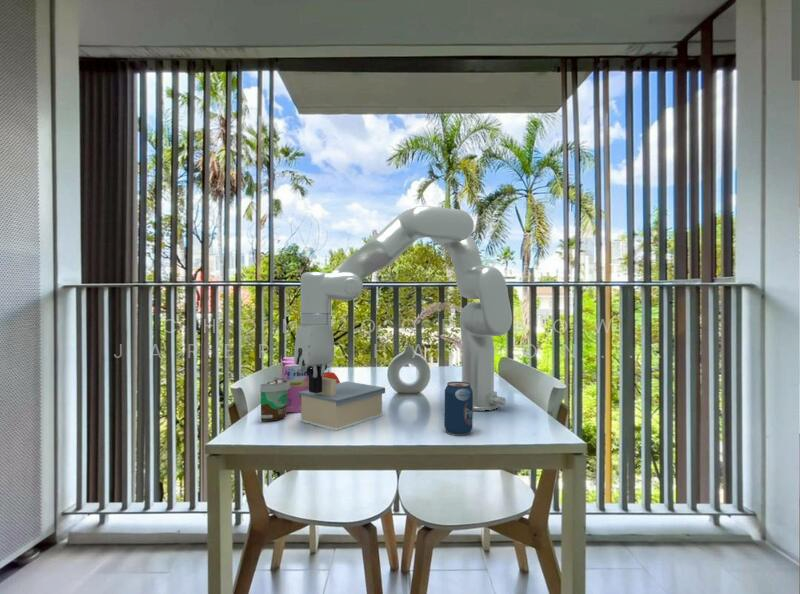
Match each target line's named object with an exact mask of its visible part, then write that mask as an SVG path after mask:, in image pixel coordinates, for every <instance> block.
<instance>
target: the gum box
mask: <svg viewBox="0 0 800 594" xmlns="http://www.w3.org/2000/svg"><path fill="white" fill-rule="evenodd" d="M305 366H306V365H305ZM280 378H282V381H285V379H288V380H289V382H290V386H291V388H290V389H288V396H287V406H286V412H295V413H301V398H298V392H301V391H306V390H309V377H308V376H307V374H306V373H305V372H303V371H298V365H297V364H295V362H294V356H285V355H284V354H283V355H280Z"/></svg>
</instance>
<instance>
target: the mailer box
mask: <svg viewBox="0 0 800 594" xmlns="http://www.w3.org/2000/svg"><path fill="white" fill-rule="evenodd" d="M300 414H301V420H300V422H301V421H303V422H302V423H305V422H306V424H308V423H310V424H309V425H312V424H313V426H316V425H317V426H318V427H321V428H325V429H328V430H332V431H339V430H342V429H346V428H348V427H351V426H354V425H357V424H360V423H363V422H366V421H369V420H373V419H375V418H379V417H382V415H383V394H380V395H377V396H373V397H369V398H366V399H362V400H359V401H355V402H351V403H348V404H344V405H341V406H336V402H331V401H326V400H321V399H316V398H312V397H307V396H302V395H301V412H300Z"/></svg>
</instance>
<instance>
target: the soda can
mask: <svg viewBox="0 0 800 594" xmlns="http://www.w3.org/2000/svg"><path fill="white" fill-rule="evenodd" d="M473 412H474V410H473V391H472V389H471V387H470V383H467V382H462V381H449V382H447V383H446V386H445V388H444V414H443V415H444V418H443V419H444V426H443V427H444V429H445V430H446V433H448V434H449V433H450V434H449V435H452V434H454V436H466V434H467V435H469V434H470V433H471V432H472V430H473V427H474V426H473V423H474V421H473V419H474V418H473V417H474V416H473V415H474V413H473Z"/></svg>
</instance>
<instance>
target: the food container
mask: <svg viewBox="0 0 800 594" xmlns="http://www.w3.org/2000/svg"><path fill="white" fill-rule="evenodd" d="M290 388H291V386H290V382H289V380H288V379H285V381H282V378H281V377H280V376H279V377H275V376H274V379H273V380H272V381H268V382H267V383H260V387H259V392H260V421H261V422H274V421H273V420H275V421H279V420H278V419H280V420H282V418H283V419H285V418H286V414H287V413H286V406H287V396H288V389H290ZM284 417H285V418H284Z"/></svg>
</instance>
